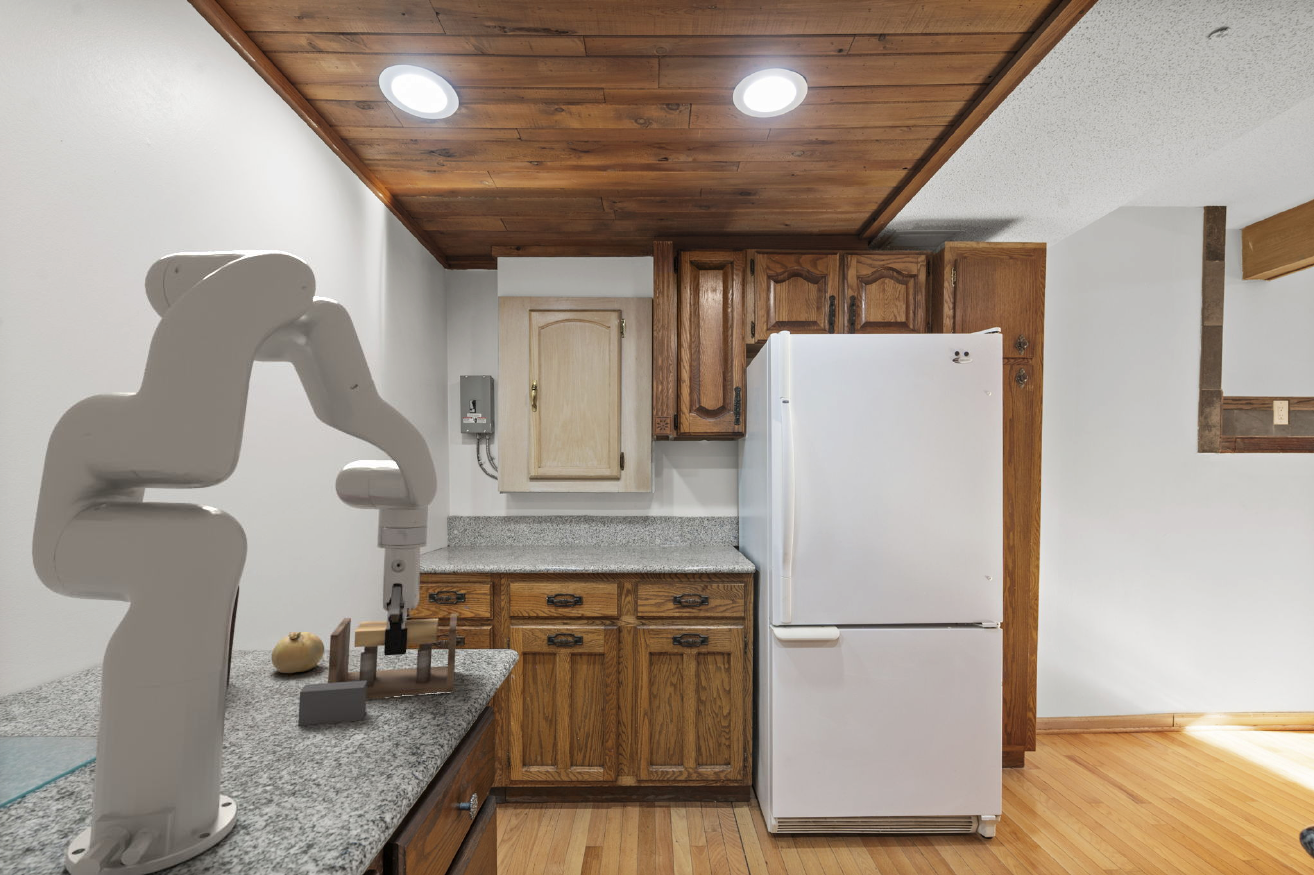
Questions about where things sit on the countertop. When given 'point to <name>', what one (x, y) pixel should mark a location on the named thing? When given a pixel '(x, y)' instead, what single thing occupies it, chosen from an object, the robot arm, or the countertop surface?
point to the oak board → (416, 632)
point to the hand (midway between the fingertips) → (397, 647)
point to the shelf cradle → (396, 679)
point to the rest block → (332, 702)
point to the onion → (297, 652)
